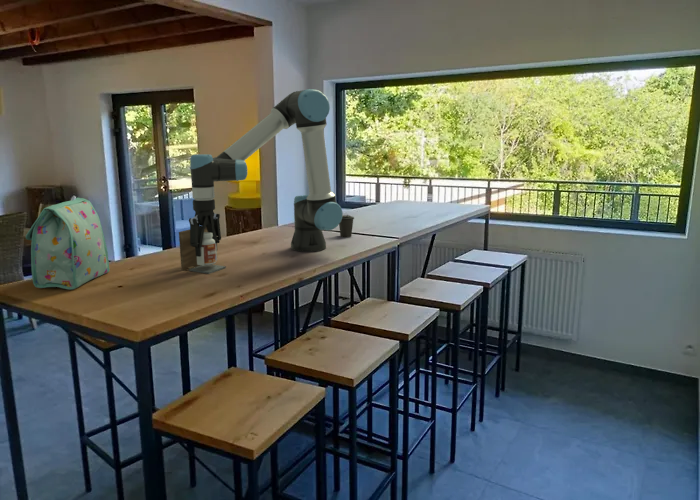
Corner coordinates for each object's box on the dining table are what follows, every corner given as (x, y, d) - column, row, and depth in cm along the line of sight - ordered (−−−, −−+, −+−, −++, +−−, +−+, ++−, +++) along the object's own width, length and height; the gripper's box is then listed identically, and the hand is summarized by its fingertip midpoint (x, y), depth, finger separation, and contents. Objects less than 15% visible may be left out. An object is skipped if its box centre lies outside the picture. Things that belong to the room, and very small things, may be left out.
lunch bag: (69, 271, 180) (60, 195, 174) (115, 272, 180) (107, 196, 174) (27, 290, 158) (15, 204, 152) (79, 291, 158) (69, 205, 151)
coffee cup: (345, 238, 239) (345, 217, 237) (334, 236, 245) (334, 215, 243) (357, 236, 245) (357, 215, 242) (346, 233, 251) (346, 213, 248)
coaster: (225, 267, 186) (225, 266, 186) (209, 273, 178) (209, 272, 178) (206, 265, 190) (206, 263, 189) (189, 270, 182) (189, 269, 182)
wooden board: (216, 261, 196) (214, 225, 192) (187, 271, 181) (184, 232, 178) (208, 260, 197) (206, 224, 194) (178, 269, 183) (176, 231, 180)
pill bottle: (210, 266, 179) (208, 235, 177) (195, 264, 181) (193, 234, 179) (219, 262, 185) (218, 232, 183) (205, 260, 187) (203, 231, 185)
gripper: (213, 195, 188) (216, 256, 193) (175, 201, 171) (180, 267, 176) (229, 196, 185) (232, 258, 190) (192, 202, 168) (197, 270, 173)
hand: (207, 262), depth 183 cm, fingers closed on pill bottle, 6 cm apart
